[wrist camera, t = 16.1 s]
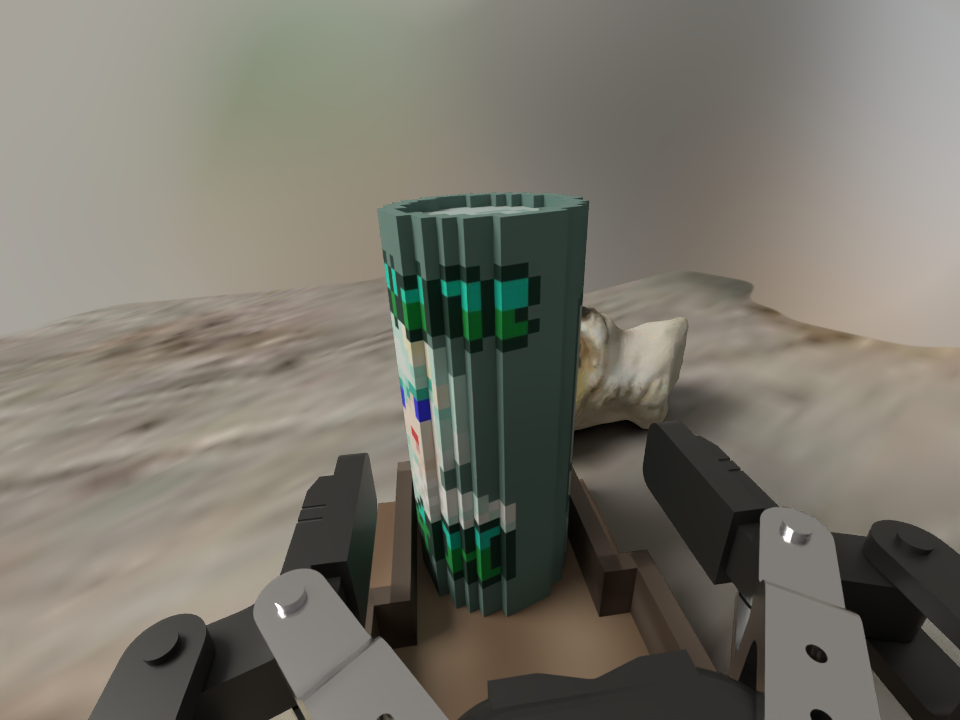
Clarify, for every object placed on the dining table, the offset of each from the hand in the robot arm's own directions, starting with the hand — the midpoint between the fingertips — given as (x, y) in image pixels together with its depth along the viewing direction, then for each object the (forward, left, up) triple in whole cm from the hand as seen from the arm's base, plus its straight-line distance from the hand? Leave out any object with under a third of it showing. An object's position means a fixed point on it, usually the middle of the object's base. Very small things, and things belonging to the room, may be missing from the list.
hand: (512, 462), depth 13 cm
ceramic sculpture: (-7, -15, -10) cm, 19 cm away
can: (0, -4, -9) cm, 10 cm away
